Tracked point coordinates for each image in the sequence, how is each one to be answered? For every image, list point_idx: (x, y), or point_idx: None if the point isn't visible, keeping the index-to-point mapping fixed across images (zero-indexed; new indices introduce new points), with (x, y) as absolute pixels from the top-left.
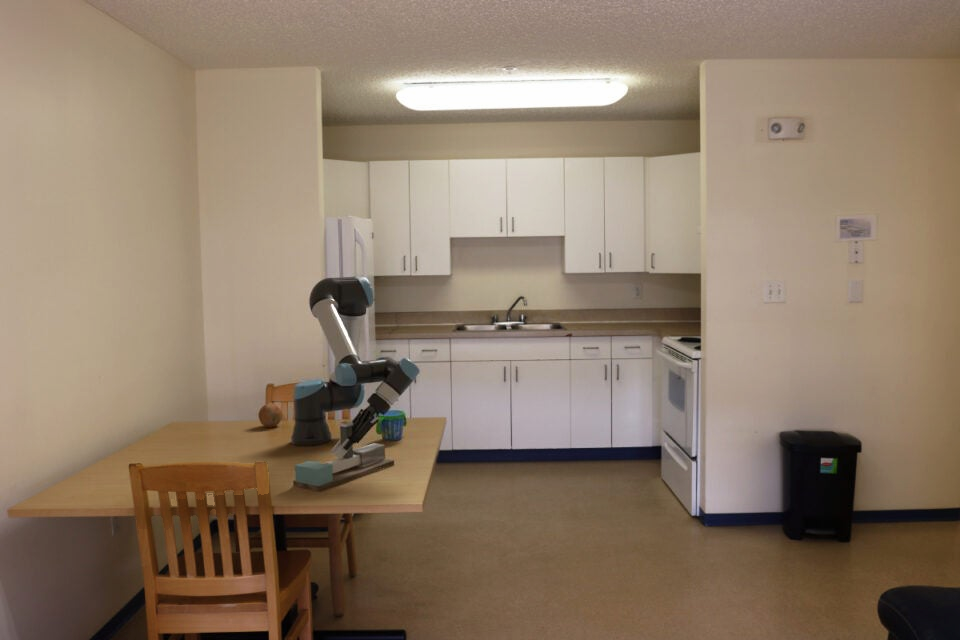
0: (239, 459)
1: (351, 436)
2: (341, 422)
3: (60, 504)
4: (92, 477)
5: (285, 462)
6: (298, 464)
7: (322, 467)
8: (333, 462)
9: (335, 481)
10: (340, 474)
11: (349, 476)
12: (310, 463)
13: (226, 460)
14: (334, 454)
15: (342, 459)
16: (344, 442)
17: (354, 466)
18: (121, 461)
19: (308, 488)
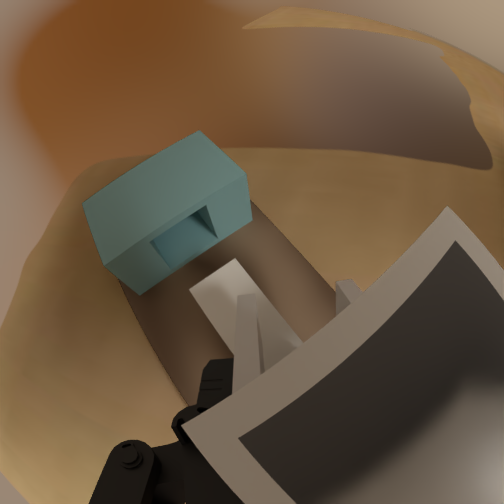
0: (485, 124)
1: (195, 459)
2: (491, 288)
3: (281, 12)
4: (381, 26)
5: (484, 189)
6: (202, 139)
7: (94, 222)
8: (219, 298)
9: (130, 305)
10: (222, 346)
11: (172, 378)
12: (190, 177)
13: (475, 109)
14: (239, 295)
15: (267, 361)
16: (238, 371)
17: None
18: (445, 48)
19: None
